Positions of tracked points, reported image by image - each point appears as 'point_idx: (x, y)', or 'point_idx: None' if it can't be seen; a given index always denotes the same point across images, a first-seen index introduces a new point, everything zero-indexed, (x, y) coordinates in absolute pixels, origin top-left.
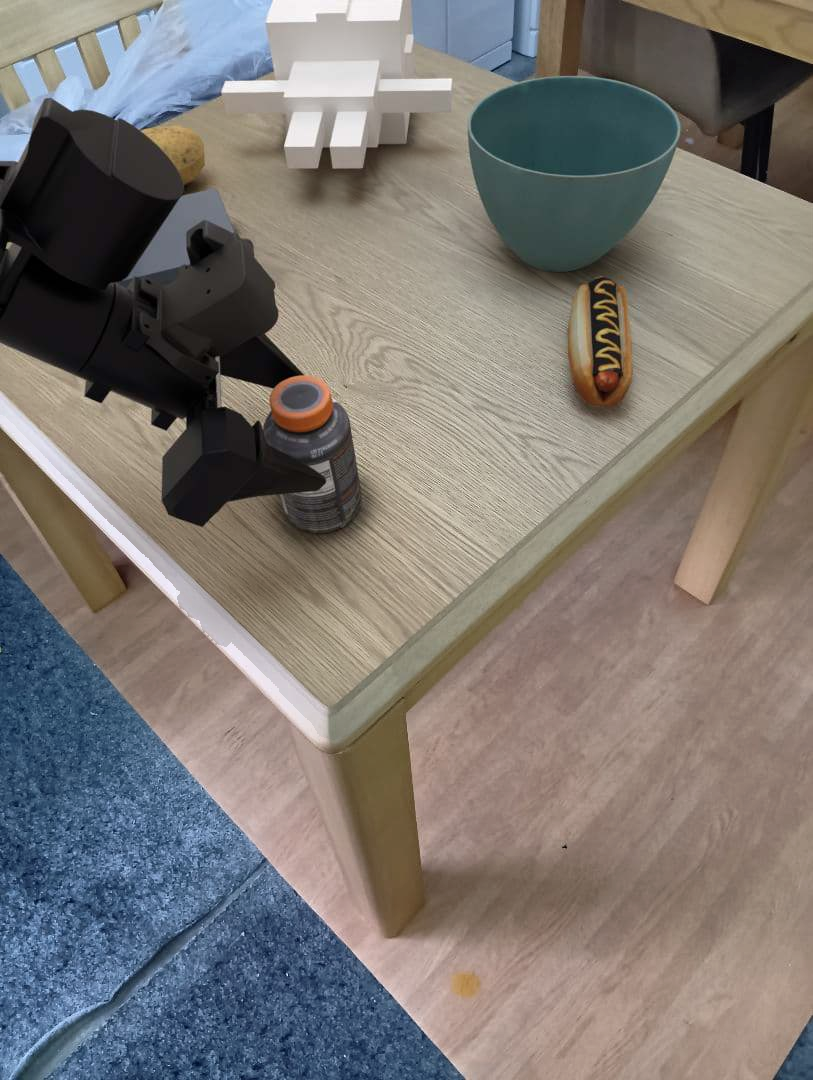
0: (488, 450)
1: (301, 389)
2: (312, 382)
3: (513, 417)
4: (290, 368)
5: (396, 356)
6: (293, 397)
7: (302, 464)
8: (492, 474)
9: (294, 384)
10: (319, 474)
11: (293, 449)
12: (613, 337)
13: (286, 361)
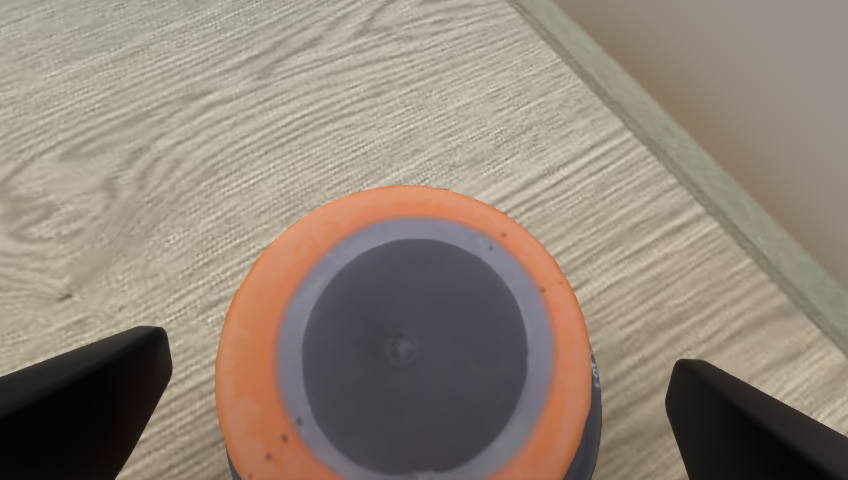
0: (375, 83)
1: (364, 325)
2: (318, 257)
3: (313, 31)
4: (62, 385)
5: (40, 173)
6: (413, 387)
7: (792, 433)
8: (433, 90)
9: (292, 363)
10: (710, 374)
11: (581, 465)
12: None
13: (8, 395)
